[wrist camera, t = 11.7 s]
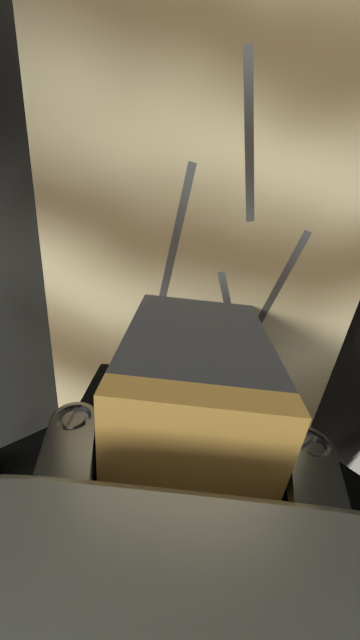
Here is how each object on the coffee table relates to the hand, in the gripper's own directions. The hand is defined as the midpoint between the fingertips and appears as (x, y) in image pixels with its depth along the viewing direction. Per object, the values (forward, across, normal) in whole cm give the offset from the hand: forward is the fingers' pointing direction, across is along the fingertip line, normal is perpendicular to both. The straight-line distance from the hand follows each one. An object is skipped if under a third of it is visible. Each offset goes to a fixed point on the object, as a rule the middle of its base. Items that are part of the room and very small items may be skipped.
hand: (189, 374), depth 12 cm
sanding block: (+1, 0, 0) cm, 1 cm away
